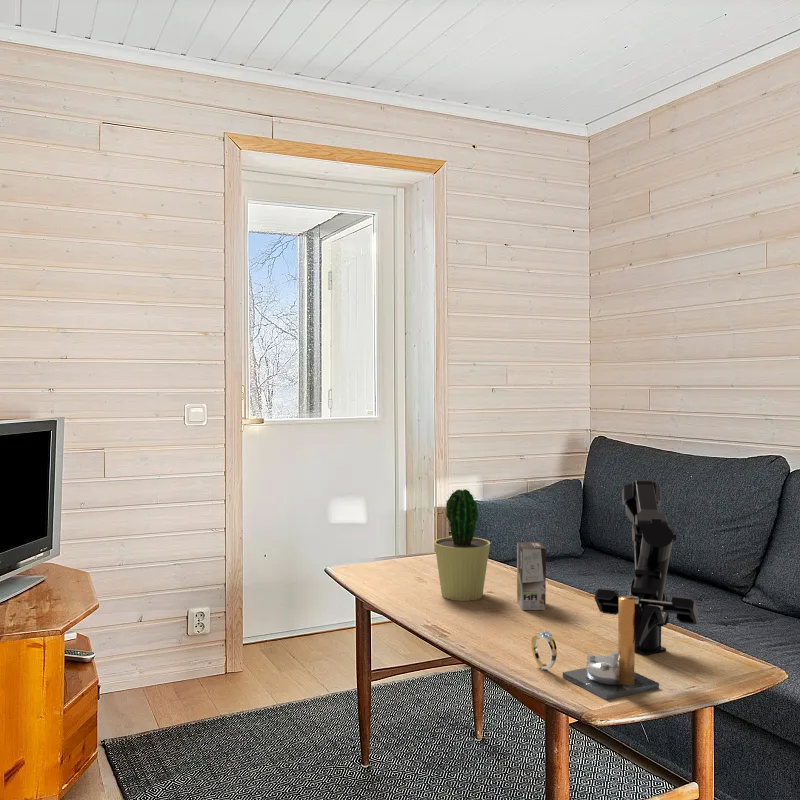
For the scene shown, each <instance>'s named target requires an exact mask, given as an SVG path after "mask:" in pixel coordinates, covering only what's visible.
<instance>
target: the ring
mask: <svg viewBox="0 0 800 800" xmlns="http://www.w3.org/2000/svg"><path fill="white" fill-rule="evenodd" d="M540 639H541V640H543V641H545V643H546V644H547V646H548V648H549V652H550V653H549V654H550V657H549V662H548V664H546V663H544V662H543V661H542V659H541V658H540V655H539V652H538V643H539V640H540ZM530 644H531V645H530V646H531V650H532V655H533V658H534V659H535V661H536V663H537V665H538V666H539V667H540V669H541V670H544V671H545V670H550V669H551V668H553V667H554V665H555V663H556V659H557V655H558V654H557V653H558V650H557V645H556V641H555V639H554V638H553V634H552V632H550V631H549V630H548V629H545V630H542V629H539V633H536V634H535V635H533V636H532V638H531V643H530Z"/></svg>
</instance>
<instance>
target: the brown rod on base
mask: <svg viewBox="0 0 800 800" xmlns="http://www.w3.org/2000/svg"><path fill="white" fill-rule="evenodd" d="M617 617H618V618H617V619H618V622H617V623H618V627H617V628H618V629H617V636H618V637H617V639H618V640H617V641H618V645H617V651H611V652H610V655H597V656H596V655H595V654H593V653H589V654H588V653H587V654H586V668H587V677H588V678H590V679H591V680H593V681H596V682H599V683H603V684H611V685H621V684H624V685H632V684H634V672H635V662H636V661H635V653H636V651H635V598H633V597H629V596H627V595H626V596H625V595H624V596H622V595H621V596H620V597H619V600H618V614H617Z"/></svg>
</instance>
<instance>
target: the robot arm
mask: <svg viewBox="0 0 800 800" xmlns="http://www.w3.org/2000/svg"><path fill="white" fill-rule="evenodd" d="M621 493H622V494H621V499H622V506H625V516H627V518H628V519H629V521H630V522H631V523H632V524H631V540H632V542H633V553H634V575H635V577H634V578H633V580H632V581H631V584H630V586H629V593H628V594H626V596H629V597H633V598H635V652H636V653H639V654H641V655H645V656H646V655H651V654H652V655H653V654H657V653H661V652H666V651H667V648H666V647H664V646H662V627H664V626H667V624H669V622H670V621H669V619H670V616H669V615H670V613H671V614H676V619H677V621H678V622H679V623H680V624H685V625H686V624H687V625H697V624H698V617H699V611H698V607H697V604H696V601H695V599H694V598H693V597H692V596H691V597H690V596H682V595H673V596H672V598H671V601H668V598H667V596H666V594H665V593H666V582H667V575H668V568H669V563H670V556H671V553H672V552H671V551H672V546H673V543H674V541H677V534H676V532H675V530H673V528H672V525H670V524H668V523H669V522H668V519H667V516H666V515H664V514H663V513H661V512H659V507H660V505H661V502H662V498H661V497H662V496H661V486H659V485H658V484H656V481H655V480H653V479H635V480H632V482H631V483H628V484H626V485H624V486H623V487H622V492H621ZM619 597H621V596H620V594H619V591H618V589H616V588H611V587H610V588H608V587H599V588H598V589H597V590H595V594H594V598H593V599H594V601H595V603H596V605H597V608H598V610H599V612H600V613H602V614H604V615H605V614H608V615H615V616H616V615H618V600H619Z"/></svg>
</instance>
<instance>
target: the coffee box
mask: <svg viewBox="0 0 800 800" xmlns="http://www.w3.org/2000/svg"><path fill="white" fill-rule="evenodd" d="M546 571H547V548H546V546H544V545H543V544H542V543H541V542H540V541H529V542H528V541H525V542H516V600H517V603H518V605H519V607H520V608H521V610H522V611H546V599H547V598H546V595H547V594H546V591H547V588H546V587H547V586H546V584H547V582H546V581H547V580H546V579H547V578H546V577H547V575H546V574H547V572H546Z"/></svg>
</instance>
